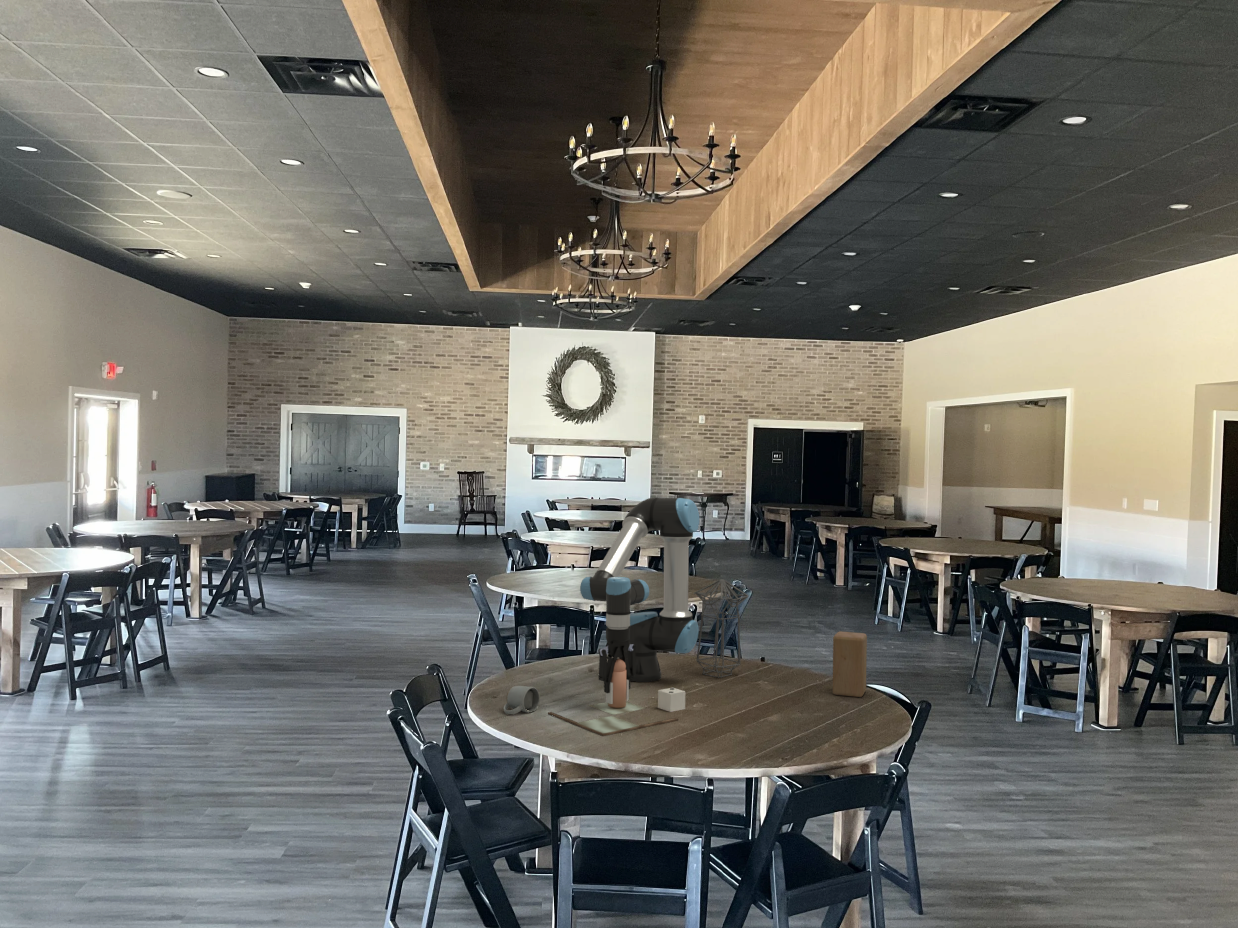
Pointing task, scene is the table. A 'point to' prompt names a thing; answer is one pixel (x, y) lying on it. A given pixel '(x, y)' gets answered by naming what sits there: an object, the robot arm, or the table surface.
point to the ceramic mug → (522, 699)
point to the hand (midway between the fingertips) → (617, 701)
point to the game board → (611, 720)
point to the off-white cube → (671, 699)
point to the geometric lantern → (726, 585)
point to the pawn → (619, 684)
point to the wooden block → (849, 664)
